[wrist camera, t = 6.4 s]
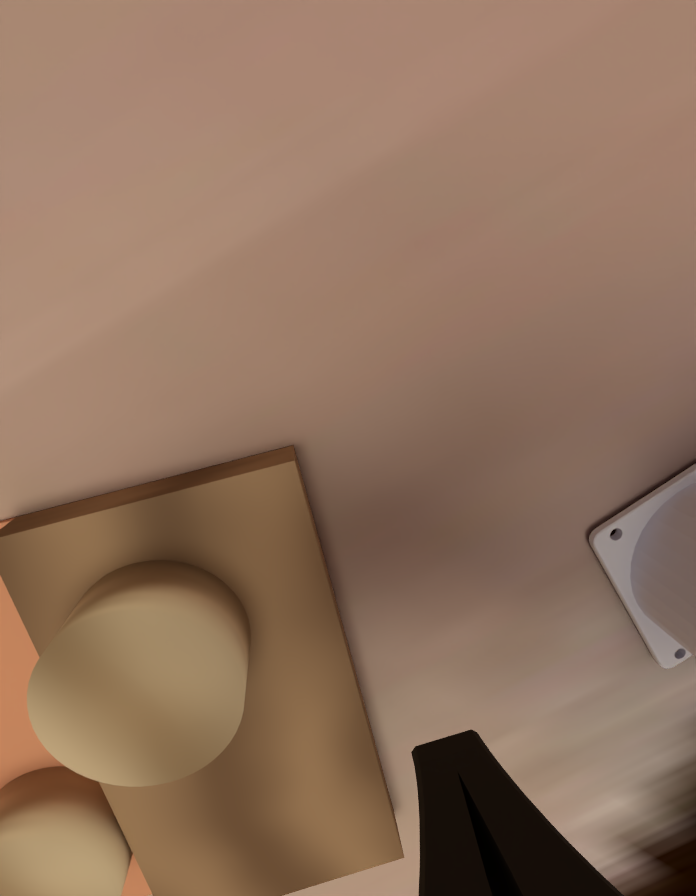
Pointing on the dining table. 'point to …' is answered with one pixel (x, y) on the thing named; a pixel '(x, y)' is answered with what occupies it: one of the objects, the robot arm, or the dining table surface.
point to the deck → (267, 687)
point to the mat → (7, 720)
